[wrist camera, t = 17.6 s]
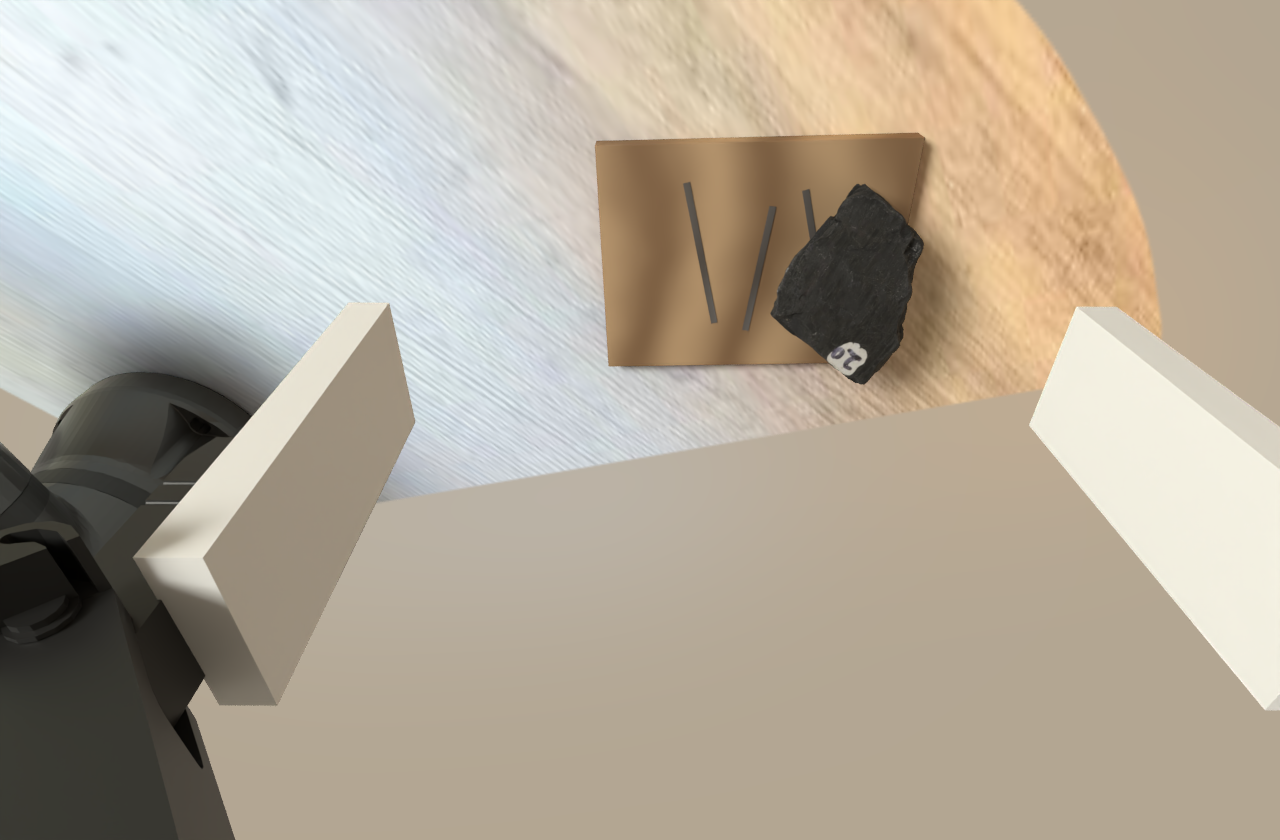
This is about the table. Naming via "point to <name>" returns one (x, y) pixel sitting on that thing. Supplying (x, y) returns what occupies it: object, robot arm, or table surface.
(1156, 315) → the table surface
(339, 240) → the table surface
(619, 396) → the table surface
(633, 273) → the board
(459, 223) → the table surface
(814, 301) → the rock
